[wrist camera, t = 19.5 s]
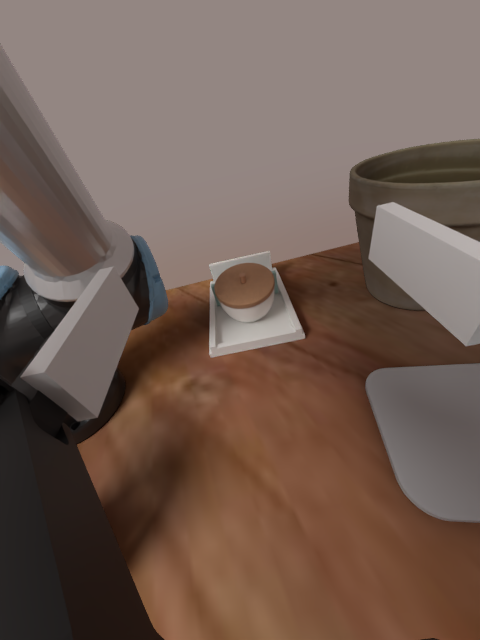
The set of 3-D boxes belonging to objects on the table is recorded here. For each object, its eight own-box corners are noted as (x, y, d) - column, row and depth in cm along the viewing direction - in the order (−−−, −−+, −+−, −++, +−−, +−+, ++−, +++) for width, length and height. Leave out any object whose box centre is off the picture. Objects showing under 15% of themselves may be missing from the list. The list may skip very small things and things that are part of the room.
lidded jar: (224, 294, 53) (213, 259, 45) (274, 288, 51) (270, 251, 44) (222, 335, 46) (209, 302, 39) (279, 328, 45) (276, 293, 37)
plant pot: (424, 246, 57) (460, 130, 43) (542, 307, 38) (676, 136, 24) (320, 273, 57) (322, 166, 43) (387, 348, 38) (430, 200, 24)
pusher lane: (305, 338, 42) (304, 307, 38) (210, 357, 43) (198, 329, 39) (278, 275, 59) (275, 249, 55) (211, 290, 60) (202, 265, 56)
